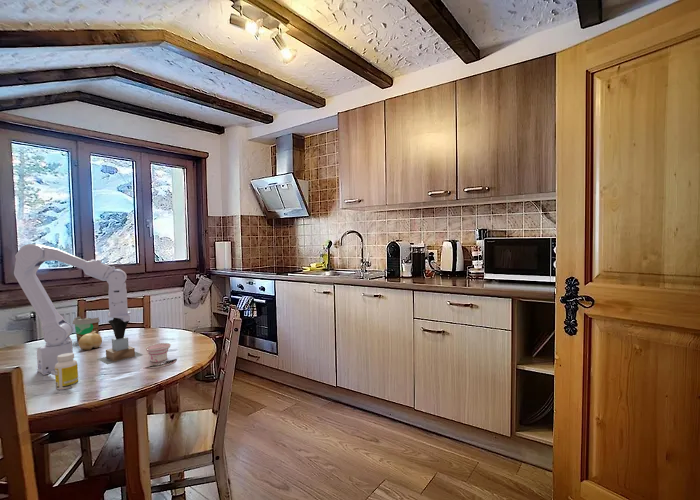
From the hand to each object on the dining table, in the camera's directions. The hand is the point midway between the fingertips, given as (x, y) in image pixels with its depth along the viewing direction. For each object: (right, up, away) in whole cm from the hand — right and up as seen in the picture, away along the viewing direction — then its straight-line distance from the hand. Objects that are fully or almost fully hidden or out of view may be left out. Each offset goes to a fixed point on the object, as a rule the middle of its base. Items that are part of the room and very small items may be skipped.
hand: (119, 338), depth 134 cm
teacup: (+17, -8, -4) cm, 19 cm away
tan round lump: (-22, -8, +16) cm, 28 cm away
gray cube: (0, -4, 0) cm, 4 cm away
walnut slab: (0, -7, 0) cm, 7 cm away
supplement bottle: (-1, -9, -24) cm, 26 cm away
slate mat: (0, -8, 0) cm, 8 cm away
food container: (-35, -8, +29) cm, 46 cm away
